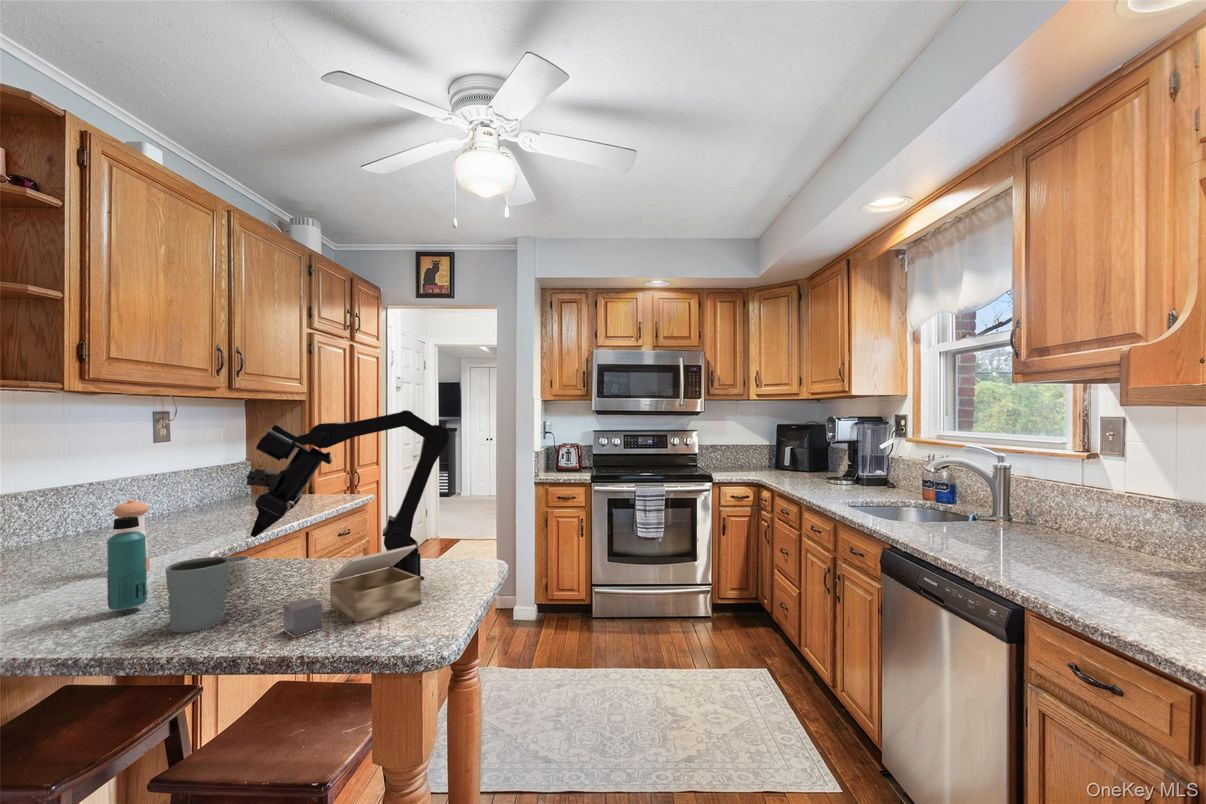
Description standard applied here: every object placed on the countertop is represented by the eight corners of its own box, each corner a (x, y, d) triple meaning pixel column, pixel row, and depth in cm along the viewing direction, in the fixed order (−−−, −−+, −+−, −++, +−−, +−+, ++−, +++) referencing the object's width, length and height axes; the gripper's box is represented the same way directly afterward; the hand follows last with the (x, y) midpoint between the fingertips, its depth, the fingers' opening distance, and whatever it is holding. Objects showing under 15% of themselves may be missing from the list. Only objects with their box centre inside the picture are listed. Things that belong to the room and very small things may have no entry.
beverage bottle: (138, 615, 113) (137, 519, 113) (99, 619, 111) (98, 521, 111) (154, 604, 119) (153, 513, 119) (117, 607, 117) (116, 515, 117)
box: (393, 591, 125) (392, 566, 125) (420, 602, 117) (420, 577, 117) (330, 608, 115) (330, 582, 115) (356, 623, 107) (356, 594, 107)
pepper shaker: (149, 572, 143) (148, 499, 143) (112, 578, 138) (111, 503, 139) (149, 566, 149) (148, 496, 149) (113, 571, 144) (113, 499, 144)
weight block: (311, 623, 107) (311, 597, 108) (322, 629, 104) (321, 603, 104) (284, 631, 104) (283, 604, 104) (294, 638, 100) (293, 611, 100)
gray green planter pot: (152, 633, 103) (151, 570, 103) (194, 613, 113) (194, 556, 113) (203, 634, 103) (202, 570, 103) (241, 613, 113) (241, 556, 113)
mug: (234, 581, 134) (233, 555, 134) (256, 583, 133) (256, 556, 133) (196, 595, 124) (195, 566, 124) (220, 597, 123) (219, 568, 123)
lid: (392, 566, 125) (392, 563, 125) (416, 547, 119) (415, 544, 119) (330, 581, 115) (329, 578, 115) (352, 561, 108) (351, 558, 108)
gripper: (274, 451, 132) (234, 508, 128) (255, 457, 114) (207, 523, 111) (317, 473, 135) (279, 529, 132) (305, 482, 117) (261, 547, 114)
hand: (257, 531), depth 122 cm, fingers open, 9 cm apart
